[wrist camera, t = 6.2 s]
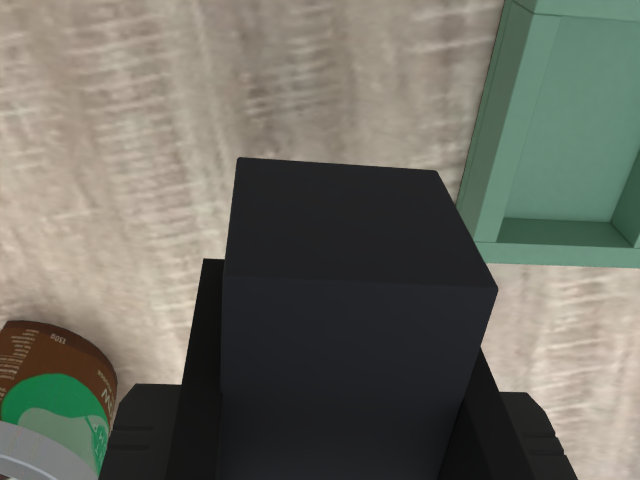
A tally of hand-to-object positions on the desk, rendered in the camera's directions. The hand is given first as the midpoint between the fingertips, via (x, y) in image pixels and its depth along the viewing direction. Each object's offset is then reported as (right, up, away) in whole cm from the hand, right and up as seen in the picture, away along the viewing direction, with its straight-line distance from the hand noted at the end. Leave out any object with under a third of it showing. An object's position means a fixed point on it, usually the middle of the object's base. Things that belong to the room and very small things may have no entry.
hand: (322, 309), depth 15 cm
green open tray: (+12, +8, +14) cm, 20 cm away
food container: (-14, -6, +21) cm, 27 cm away
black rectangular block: (0, 0, 0) cm, 0 cm away
